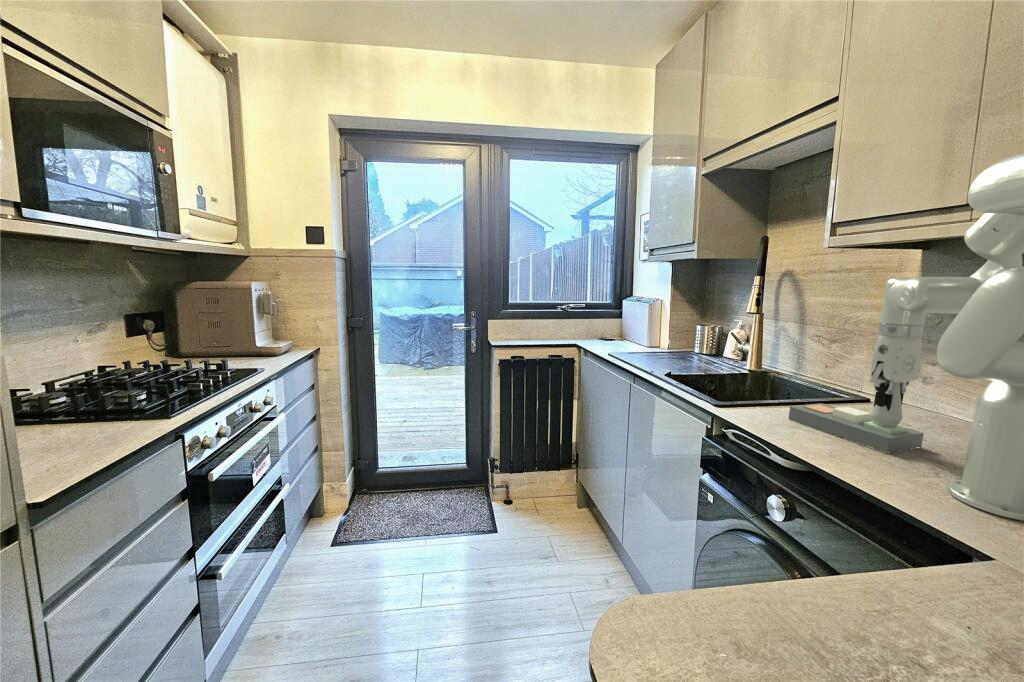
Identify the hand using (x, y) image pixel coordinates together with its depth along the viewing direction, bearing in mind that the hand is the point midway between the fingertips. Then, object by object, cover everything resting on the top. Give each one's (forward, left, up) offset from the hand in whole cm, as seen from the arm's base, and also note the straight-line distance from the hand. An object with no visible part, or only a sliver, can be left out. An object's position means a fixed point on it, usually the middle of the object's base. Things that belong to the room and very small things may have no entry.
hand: (887, 407), depth 101 cm
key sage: (0, 0, -8) cm, 8 cm away
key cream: (+7, 0, -7) cm, 10 cm away
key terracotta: (+15, 0, -8) cm, 17 cm away
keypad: (+7, 0, -9) cm, 11 cm away
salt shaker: (0, 0, -4) cm, 4 cm away
